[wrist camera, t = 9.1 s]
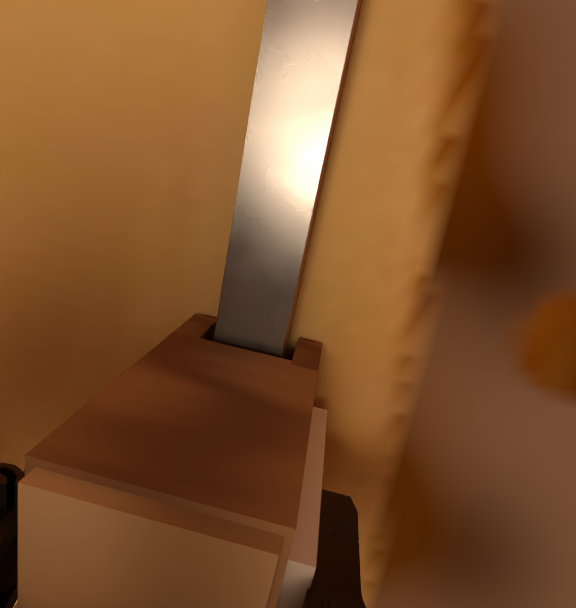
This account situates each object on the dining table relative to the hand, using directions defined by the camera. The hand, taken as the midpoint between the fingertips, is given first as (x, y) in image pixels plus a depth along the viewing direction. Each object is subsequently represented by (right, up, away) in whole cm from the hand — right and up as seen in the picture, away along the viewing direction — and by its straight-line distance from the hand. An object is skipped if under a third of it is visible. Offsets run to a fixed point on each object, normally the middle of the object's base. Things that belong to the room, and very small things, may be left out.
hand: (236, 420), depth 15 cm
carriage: (0, 0, +1) cm, 1 cm away
